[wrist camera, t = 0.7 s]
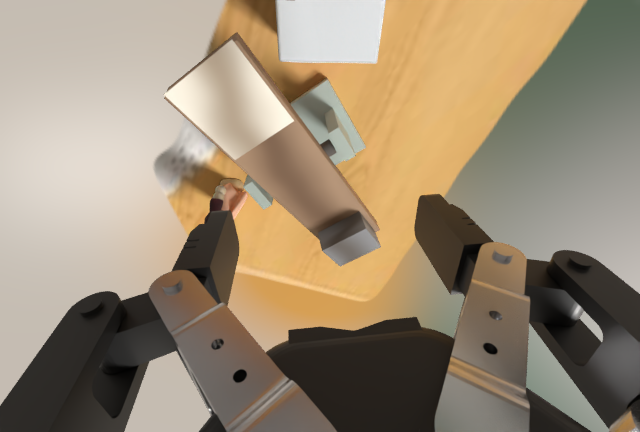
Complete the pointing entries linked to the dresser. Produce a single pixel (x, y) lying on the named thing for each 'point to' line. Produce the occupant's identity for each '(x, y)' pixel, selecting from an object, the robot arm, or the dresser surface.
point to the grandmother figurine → (228, 197)
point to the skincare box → (329, 30)
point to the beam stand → (319, 130)
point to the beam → (274, 147)
